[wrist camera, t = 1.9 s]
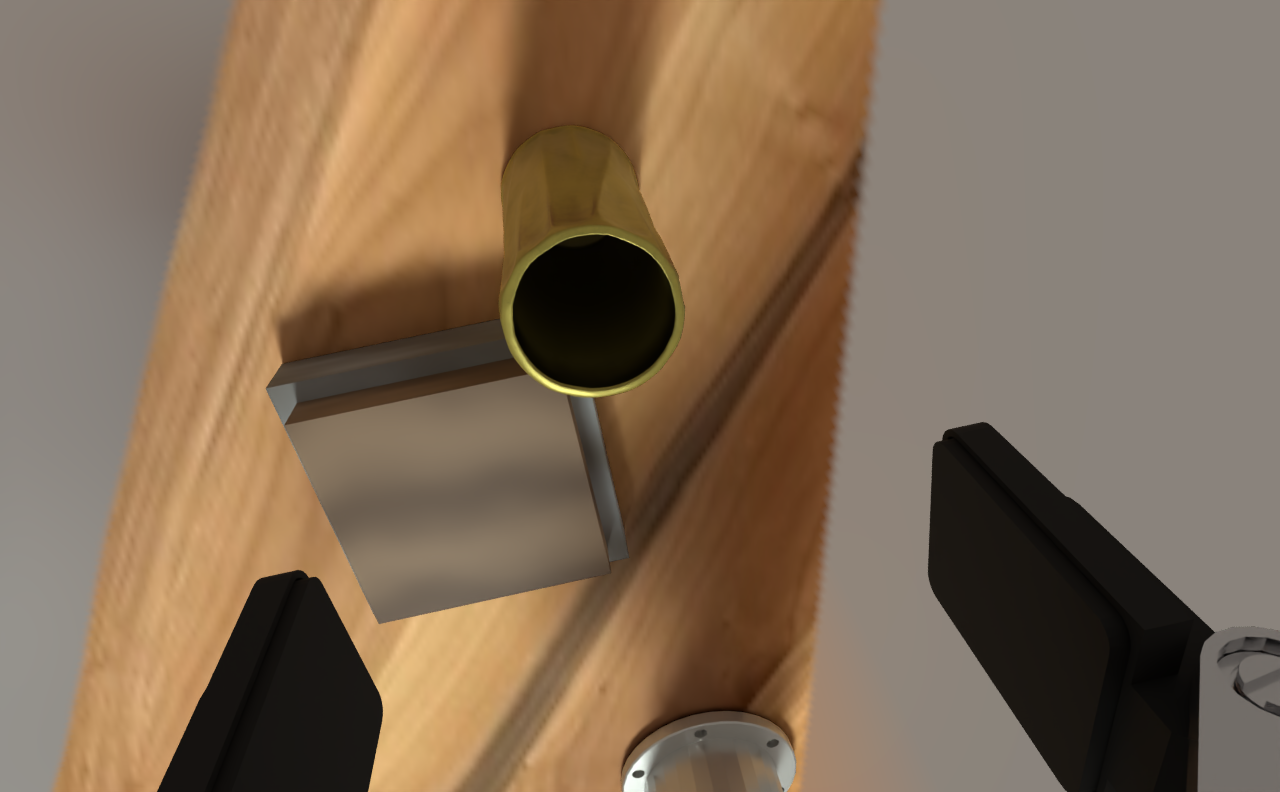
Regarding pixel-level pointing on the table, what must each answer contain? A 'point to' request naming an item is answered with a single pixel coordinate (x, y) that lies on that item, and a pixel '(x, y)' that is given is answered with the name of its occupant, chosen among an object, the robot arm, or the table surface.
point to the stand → (451, 470)
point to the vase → (584, 268)
